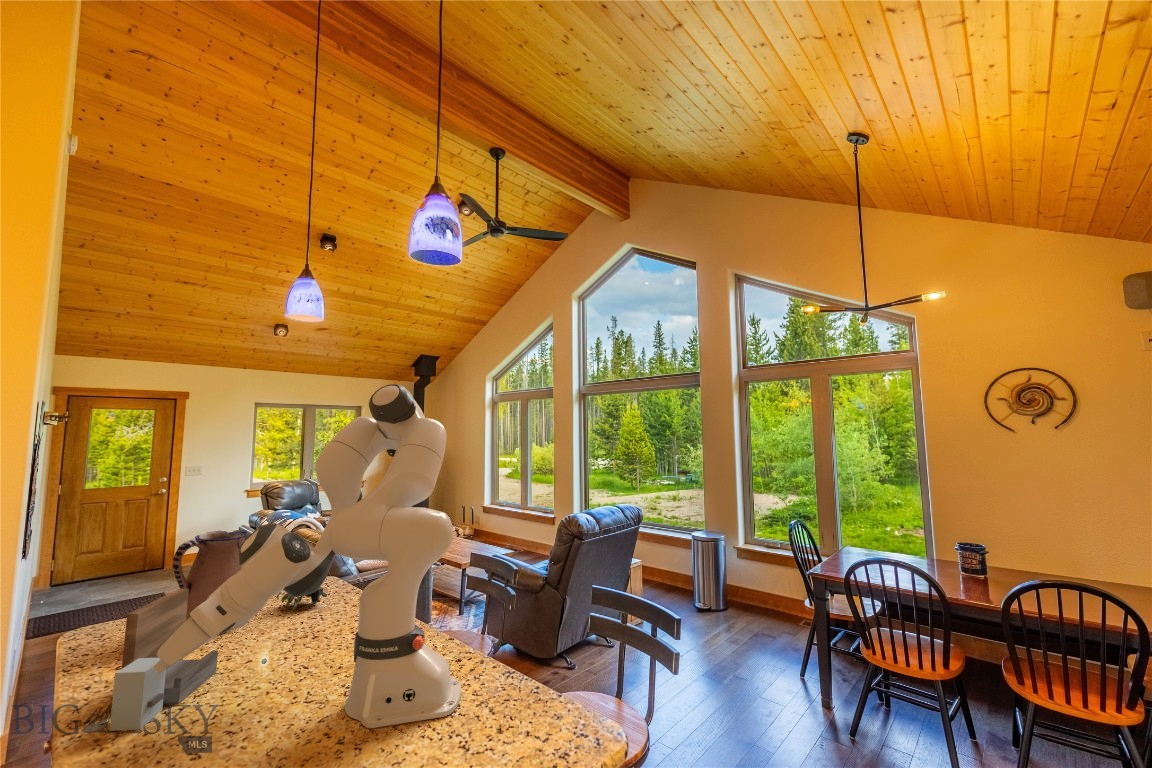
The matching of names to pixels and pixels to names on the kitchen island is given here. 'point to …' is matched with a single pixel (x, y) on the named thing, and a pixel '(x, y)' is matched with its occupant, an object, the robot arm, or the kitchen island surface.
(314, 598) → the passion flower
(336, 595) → the kitchen island surface
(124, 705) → the grey box with notch
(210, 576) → the ceramic pitcher
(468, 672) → the kitchen island surface
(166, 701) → the wall board
